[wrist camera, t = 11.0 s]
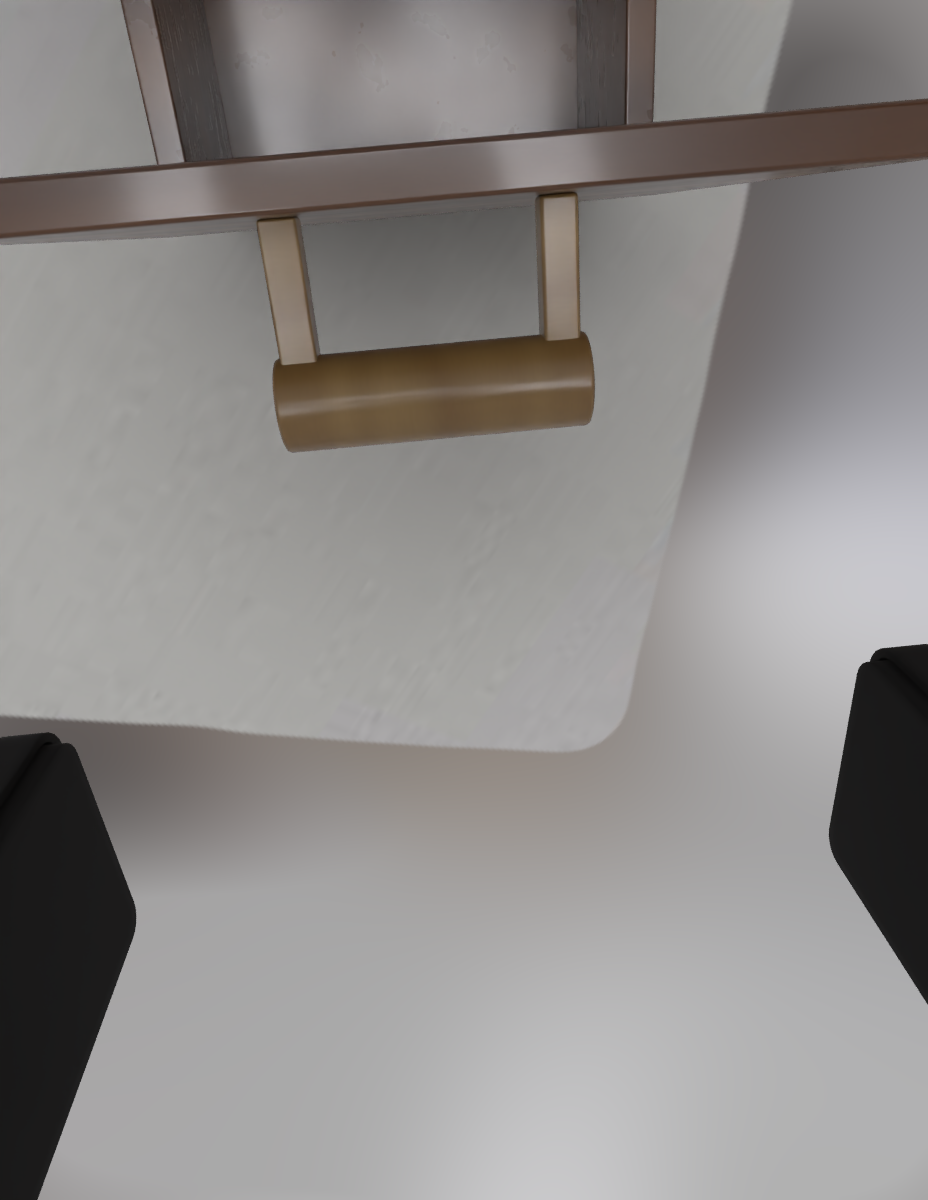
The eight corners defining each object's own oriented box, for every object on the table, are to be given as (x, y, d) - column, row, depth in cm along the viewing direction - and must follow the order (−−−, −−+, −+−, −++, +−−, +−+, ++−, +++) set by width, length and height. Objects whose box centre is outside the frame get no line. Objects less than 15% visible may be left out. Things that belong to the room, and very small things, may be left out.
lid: (-169, 192, 12) (-48, 516, 14) (977, 93, 12) (922, 425, 14) (163, 211, 27) (196, 362, 29) (656, 168, 28) (652, 320, 30)
